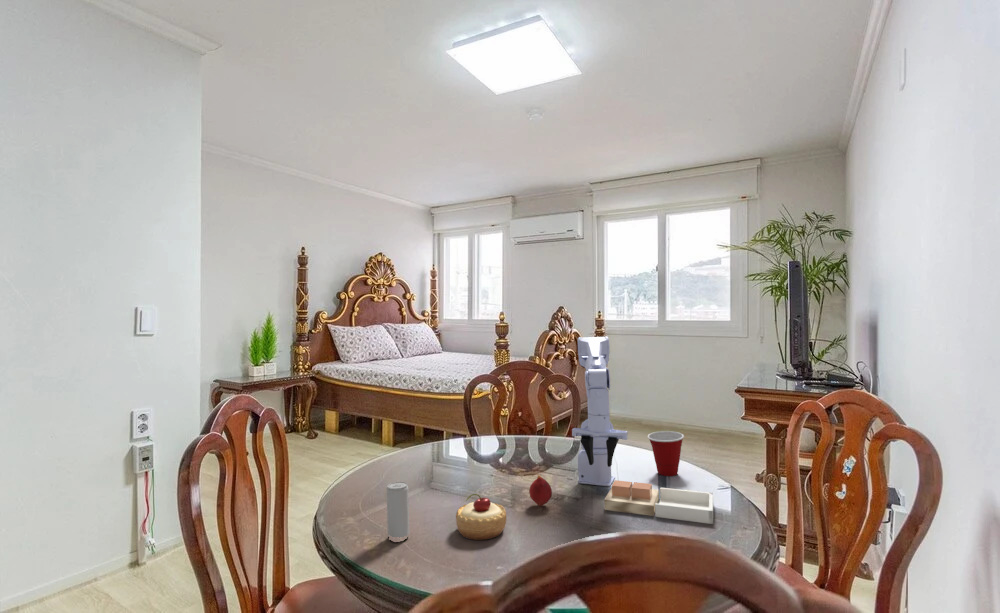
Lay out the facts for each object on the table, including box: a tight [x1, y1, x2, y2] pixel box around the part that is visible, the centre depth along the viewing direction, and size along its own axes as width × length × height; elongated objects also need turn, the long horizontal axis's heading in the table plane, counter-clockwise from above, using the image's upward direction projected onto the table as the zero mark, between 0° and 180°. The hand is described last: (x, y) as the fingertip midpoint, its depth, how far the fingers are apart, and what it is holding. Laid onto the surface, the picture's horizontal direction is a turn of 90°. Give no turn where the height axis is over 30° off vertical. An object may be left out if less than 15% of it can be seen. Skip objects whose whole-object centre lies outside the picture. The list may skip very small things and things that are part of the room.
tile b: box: [632, 482, 653, 500], centre depth 125 cm, size 4×4×2 cm
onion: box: [528, 474, 553, 507], centre depth 127 cm, size 6×6×8 cm
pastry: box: [455, 493, 507, 541], centre depth 112 cm, size 12×12×9 cm
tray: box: [654, 487, 714, 525], centre depth 121 cm, size 13×13×3 cm
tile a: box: [611, 479, 633, 497], centre depth 127 cm, size 4×4×2 cm
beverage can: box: [386, 481, 410, 538], centre depth 110 cm, size 5×5×12 cm
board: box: [603, 487, 660, 517], centre depth 126 cm, size 12×12×2 cm
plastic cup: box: [647, 430, 685, 477], centre depth 150 cm, size 11×11×12 cm
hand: (600, 464), depth 129 cm, fingers open, 4 cm apart
